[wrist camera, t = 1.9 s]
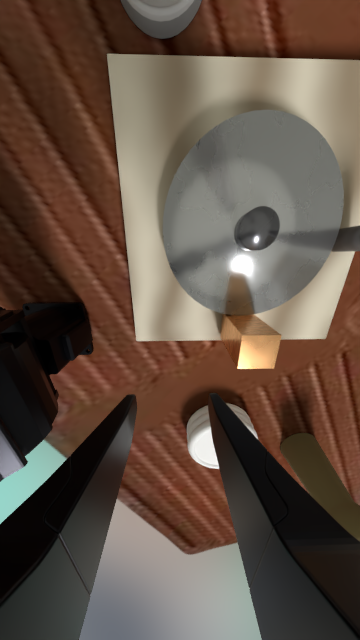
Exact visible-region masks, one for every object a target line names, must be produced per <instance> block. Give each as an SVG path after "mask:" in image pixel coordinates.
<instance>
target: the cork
mask: <svg viewBox="0 0 360 640" xmlns="http://www.w3.org/2000/svg"><path fill="white" fill-rule="evenodd" d="M280 450H281V453H282V454H283V456H284V457H285V458H286V460H287V461H288V463H289V464H290V466H291V467H292V469H293V470H294V472H295V473H296V475H297V476H298V478H299V479H300V481H301V482H302V483H303V485H304V486H305V488H306V489H307V491H308V492H309V494H310V495H311V496H312V497H313V498H314V499H315V500H316V501H317V502H318V503H319V504H320V505H321V506H322V507H323V508H324V509H325V510H326V511H327V512H328V513H329V514H330V515H331V516H332V517H333V518H334V519H335V520H336V521H337V522H338V523H339V524H340V525H341V526H342V527H344V528H345V529H346V530H347V531H348V532H349V533H350V534H351V535H353V536H354V537H355V538H356V539H357V540H359V541H360V506H359V505H358V504H356V503H355V502H354V501H353V499H352V498H351V496H350V494H349V493H348V491H347V489H346V488H345V486H344V485H343V483H342V481H341V480H340V478H339V476H338V475H337V473H336V471H335V470H334V468H333V466H332V465H331V463H330V462H329V460H328V458H327V457H326V455H325V453H324V452H323V450H322V448H321V447H320V445H319V443H318V442H317V440H316V438H315V437H314V436H313V435H311V434H308V433H297V434H294V435H291V436H290V437H288V438H286V439H285V440H284V441H283V442H282V444H281V446H280Z"/></svg>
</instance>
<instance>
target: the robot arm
mask: <svg viewBox="0 0 360 640" xmlns="http://www.w3.org/2000/svg"><path fill="white" fill-rule="evenodd" d="M78 306H80V309H79V308H78ZM22 307H23V310H6V309H5V308H4V309H3V308H2V307H0V481H1V480H3V479H4V478H6V477H7V476H9V475H11V474H13V473H14V472H16V471H18V470H19V469H21V468H23V467H24V466H25V465H26V464H27V462H28V461H27V460H26V458H25V456H26V455H27V454H29V453H30V452H31V451H32V450H33V449H34V448H35V447H36V446H37V445H38V444H39V443H40V442H42V441H43V440H44V438H45V437H46V436H47V435H48V434H49V432H50V431H51V430H52V428H53V426H52V423H53V421H54V419H55V417H56V415H57V413H58V403H57V399H58V396H59V394H58V392H57V390H55V388H54V386H53V383H52V381H51V379H50V376H49V375H50V374H58V373H59V372H60V371H61V370H62V369H63V368H64V367H65V366H66V365H67V364H68V363H69V362H70V361H72V360H74V359H75V358H76V357H77V356H78V355H89V354H91V353H92V352H93V345H92V341H93V339H92V334H91V329H90V324H89V321H88V320H87V316H86V311H85V306H84V305H83V304H82V303H80V302H59V303H26V304H24V305H23V306H22ZM28 307H29V308H30V309H29V308H28ZM24 313H25V314H24ZM87 349H89V350H90V351H88V350H87ZM208 412H209V419H210V426H211V433H212V439H213V444H214V448H215V452H216V456H217V461H218V465H219V469H220V473H221V477H222V481H223V485H224V489H225V493H226V497H227V501H228V505H229V509H230V513H231V517H232V521H233V525H234V529H235V533H236V537H237V541H238V545H239V549H240V553H241V557H242V561H243V565H244V569H245V573H246V577H247V581H248V585H249V588H250V594H251V598H252V602H253V606H254V610H255V613H256V618H257V622H258V626H259V630H260V634H261V638H262V640H360V541H359V540H357V539H356V538H355V537H354V536H353V535H351V534H350V533H349V532H348V531H347V530H346V529H345V528H344V527H342V526H341V525H340V524H339V523H338V522H337V521H336V520H335V519H334V518H333V517H332V516H331V515H330V514H329V513H328V512H327V511H326V510H325V509H324V508H323V507H322V506H321V505H320V504H319V503H318V502H317V501H316V500H315V499H314V498H313V497H312V496H311V495H310V494H309V493H308V492H307V491H305V490H304V489H303V488H302V487H301V486H300V485H299V484H298V483H297V482H296V481H295V480H294V479H293V478H292V477H291V475H290V474H289V473H288V472H287V471H286V470H285V469H284V468H283V467H282V466H281V465H280V464H279V463H278V462H277V461H276V459H275V458H274V457H273V456H272V455H271V454H270V453H269V452H268V451H267V449H266V448H265V447H264V446H263V445H262V444H261V443H260V441H259V440H258V439H257V438H256V437H255V436H254V435H253V433H252V432H251V431H250V430H249V429H248V428H247V427H246V426H245V424H244V423H243V422H242V421H241V420H240V419H239V418H238V416H237V415H236V414H235V413H234V412H233V411H232V410H231V409H230V407H229V406H228V405H227V404H226V403H225V402H224V401H223V399H222V398H221V397H220V396H219V395H218V394H217V393H210V394H209V398H208ZM136 413H137V402H136V396H135V395H134V394H131V395H127V396H126V397H125V398H124V399H123V400H122V401H121V402H120V403H119V404H118V405H117V406H116V407H115V408H114V409H113V411H112V412H111V413H110V414H109V415H108V416H107V417H106V418H105V419H104V420H103V421H102V422H101V423H100V424H99V426H98V427H97V428H96V429H95V430H94V431H93V432H92V433H91V434H90V435H89V436H88V437H87V438H86V439H85V440H84V442H83V443H82V444H81V445H80V446H79V447H78V448H77V449H76V450H75V451H74V452H73V453H72V454H71V456H70V457H69V458H68V459H67V460H66V461H65V462H64V463H63V464H62V465H61V466H60V467H59V468H58V469H57V470H56V471H55V472H54V473H53V474H52V475H51V477H49V478H48V479H47V481H45V482H44V483H43V484H42V485H41V486H40V487H39V488H38V489H37V490H36V491H35V492H34V493H33V494H32V495H31V496H30V497H29V498H28V499H27V500H26V501H24V502H23V503H22V504H21V505H20V506H19V507H18V508H17V509H16V510H15V511H14V512H13V513H12V514H11V515H10V516H8V517H7V518H6V519H5V520H4V521H3V522H2V523H1V524H0V640H79V637H80V633H81V629H82V626H83V622H84V618H85V615H86V611H87V607H88V603H89V600H90V594H91V592H92V588H93V585H94V580H95V577H96V573H97V570H98V566H99V562H100V558H101V555H102V551H103V547H104V543H105V540H106V536H107V532H108V528H109V525H110V521H111V517H112V513H113V510H114V506H115V503H116V499H117V495H118V492H119V488H120V484H121V480H122V477H123V473H124V469H125V466H126V462H127V458H128V454H129V451H130V447H131V443H132V437H133V431H134V425H135V419H136Z"/></svg>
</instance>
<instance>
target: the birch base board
mask: <svg viewBox="0 0 360 640" xmlns="http://www.w3.org/2000/svg"><path fill="white" fill-rule="evenodd" d="M107 60H108V70H109V79H110V89H111V99H112V108H113V118H114V128H115V138H116V147H117V157H118V167H119V176H120V186H121V196H122V206H123V215H124V225H125V235H126V244H127V254H128V264H129V273H130V283H131V293H132V303H133V312H134V322H135V332H136V341H184V340H221V338H220V335H221V324H222V313H219V312H216V311H213V310H211V309H209V308H206V307H204V306H203V305H201V304H200V303H198V302H197V301H195V300H194V299H193V298H192V297H191V296H189V295H188V294H187V292H186V291H185V290H184V289H183V288H182V287H181V285H180V284H179V282H178V281H177V279H176V278H175V276H174V274H173V272H172V270H171V268H170V265H169V262H168V259H167V256H166V252H165V247H164V240H163V215H164V208H165V202H166V198H167V195H168V191H169V188H170V185H171V183H172V180H173V178H174V175H175V174H176V172H177V170H178V168H179V166H180V164H181V162H182V161H183V160H184V158H185V157H186V155H187V154H188V152H189V151H190V150H191V148H192V147H193V146H194V145H195V144H196V143H197V142H198V141H199V140H200V139H201V138H202V137H203V136H204V135H205V134H206V133H208V132H209V131H210V130H211V129H212V128H214V127H215V126H217V125H219V124H220V123H222V122H223V121H225V120H227V119H229V118H232V117H234V116H236V115H239V114H242V113H246V112H250V111H255V110H276V111H283V112H286V113H290V114H293V115H296V116H297V117H299V118H301V119H303V120H305V121H307V122H308V123H309V124H311V125H312V126H313V127H314V128H316V129H317V130H318V131H319V132H320V133H321V135H322V136H323V137H324V138H325V139H326V140H327V142H328V144H329V145H330V147H331V149H332V150H333V152H334V154H335V157H336V159H337V162H338V164H339V168H340V172H341V176H342V182H343V190H344V206H343V214H342V220H341V225H340V229H339V233H338V235H337V238H336V241H335V244H334V246H333V248H332V250H331V253H330V255H329V257H328V258H327V260H326V262H325V263H324V265H323V267H322V268H321V269H320V271H319V272H318V273H317V275H316V276H315V277H314V278H313V280H312V281H311V282H310V283H309V284H308V285H307V286H306V287H305V288H304V289H303V290H302V291H300V292H299V293H298V294H297V295H295V296H294V297H293V298H291V299H290V300H289V301H287V302H285V303H283V304H282V305H280V306H278V307H275V308H273V309H271V310H268V311H265V312H262V313H258V314H254V315H256V316H257V317H258V318H260V319H261V320H262V321H264V322H265V323H266V324H267V325H269V326H270V327H271V328H273V329H274V330H275V331H277V332H278V333H279V334H281V335H282V336H281V339H326V336H327V333H328V330H329V327H330V324H331V321H332V318H333V315H334V312H335V309H336V306H337V303H338V300H339V297H340V294H341V291H342V288H343V285H344V282H345V280H346V277H347V274H348V271H349V268H350V265H351V262H352V259H353V256H354V253H355V251H360V60H332V59H293V58H254V57H215V56H176V55H137V54H107Z"/></svg>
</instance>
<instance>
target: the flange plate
mask: <svg viewBox="0 0 360 640" xmlns="http://www.w3.org/2000/svg"><path fill="white" fill-rule="evenodd" d="M343 206H344V190H343V182H342V176H341V172H340V168H339V164H338V162H337V159H336V157H335V154H334V152H333V150H332V149H331V147H330V145H329V144H328V142H327V140H326V139H325V138H324V137H323V136H322V135H321V133H320V132H319V131H318V130H317V129H316V128H314V127H313V126H312V125H311V124H309V123H308V122H307V121H305V120H303V119H301V118H299V117H297V116H296V115H293V114H290V113H286V112H283V111H276V110H255V111H250V112H246V113H242V114H239V115H236V116H234V117H232V118H229V119H227V120H225V121H223V122H222V123H220V124H219V125H217V126H215V127H214V128H212V129H211V130H210V131H209V132H208V133H206V134H205V135H204V136H203V137H202V138H201V139H200V140H199V141H198V142H197V143H196V144H195V145H194V146H193V147H192V148H191V150H190V151H189V152H188V154H187V155H186V157H185V158H184V160H183V161H182V162H181V164H180V166H179V168H178V170H177V172H176V174H175V175H174V178H173V180H172V183H171V185H170V188H169V191H168V195H167V198H166V202H165V208H164V215H163V240H164V247H165V252H166V256H167V259H168V262H169V265H170V268H171V270H172V272H173V274H174V276H175V278H176V279H177V281H178V282H179V284H180V285H181V287H182V288H183V289H184V290H185V291H186V292H187V294H188V295H189V296H191V297H192V298H193V299H194V300H195V301H197V302H198V303H200V304H201V305H203V306H204V307H206V308H209V309H211V310H213V311H216V312H219V313H222V324H221V335H220V338H221V340H222V341H223V343H224V345H225V347H226V349H227V351H228V352H229V354H230V356H231V358H232V360H233V362H234V363H235V365H236V367H237V369H260V368H274V366H275V361H276V357H277V353H278V349H279V344H280V340H281V336H282V335H281V334H279V333H278V332H277V331H275V330H274V329H273V328H271V327H270V326H269V325H267V324H266V323H265V322H264V321H262V320H261V319H260V318H258V317H257V316H256V315H254V314H258V313H262V312H265V311H268V310H271V309H273V308H275V307H278V306H280V305H282V304H283V303H285V302H287V301H289V300H290V299H291V298H293V297H294V296H295V295H297V294H298V293H299V292H300V291H302V290H303V289H304V288H305V287H306V286H307V285H308V284H309V283H310V282H311V281H312V280H313V278H314V277H315V276H316V275H317V273H318V272H319V271H320V269H321V268H322V267H323V265H324V263H325V262H326V260H327V258H328V257H329V255H330V253H331V250H332V248H333V246H334V244H335V241H336V238H337V235H338V233H339V229H340V225H341V220H342V214H343Z"/></svg>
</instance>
